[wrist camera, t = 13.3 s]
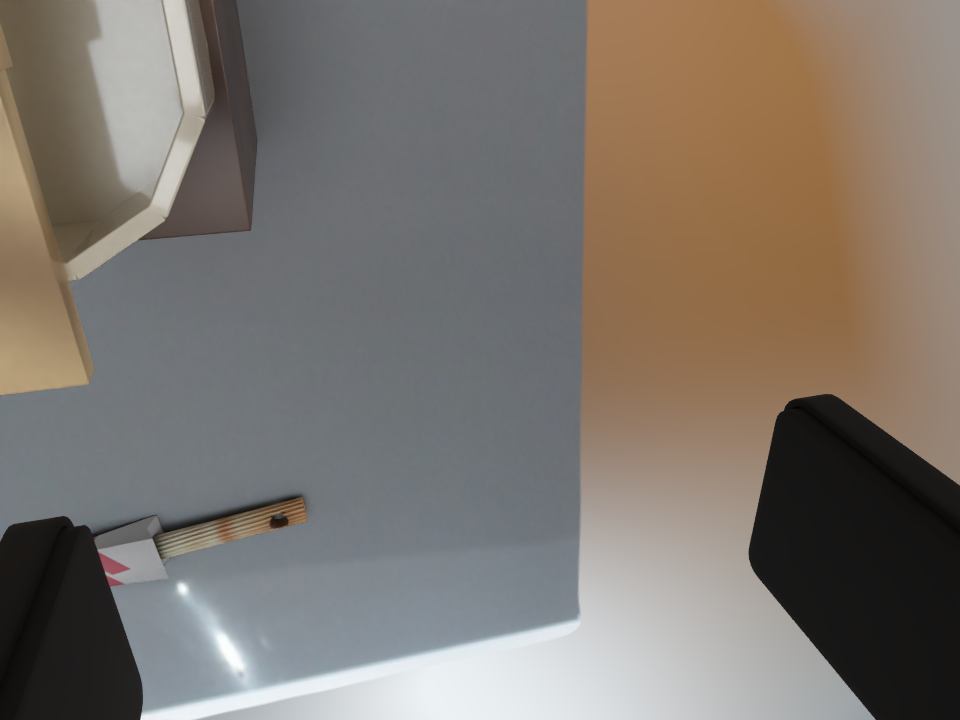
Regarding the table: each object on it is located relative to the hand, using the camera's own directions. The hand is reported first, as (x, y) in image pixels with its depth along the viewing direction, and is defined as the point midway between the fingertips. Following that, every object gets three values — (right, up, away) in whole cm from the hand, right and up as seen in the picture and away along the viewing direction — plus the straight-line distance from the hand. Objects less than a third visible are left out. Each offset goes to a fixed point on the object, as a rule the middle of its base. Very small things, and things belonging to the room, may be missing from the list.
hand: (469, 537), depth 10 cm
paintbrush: (-23, -10, +43) cm, 50 cm away
